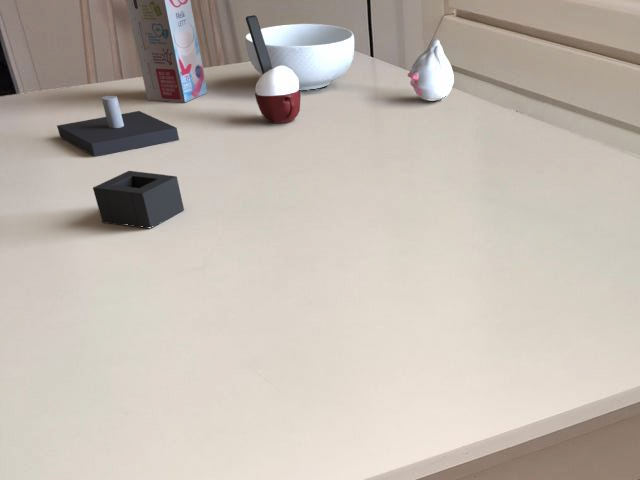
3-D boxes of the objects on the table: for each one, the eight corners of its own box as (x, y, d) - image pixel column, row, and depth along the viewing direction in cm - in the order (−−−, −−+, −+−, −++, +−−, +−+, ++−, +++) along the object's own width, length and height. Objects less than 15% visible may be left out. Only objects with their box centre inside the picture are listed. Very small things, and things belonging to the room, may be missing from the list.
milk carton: (207, 92, 143) (174, -85, 128) (185, 102, 139) (148, -80, 124) (171, 90, 145) (134, -86, 130) (147, 99, 140) (106, -81, 125)
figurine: (402, 99, 139) (398, 37, 134) (443, 94, 142) (441, 33, 136) (419, 108, 135) (416, 45, 130) (461, 103, 137) (460, 41, 132)
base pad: (94, 156, 118) (83, 113, 115) (60, 137, 125) (48, 96, 121) (179, 139, 124) (170, 98, 120) (142, 122, 130) (132, 82, 127)
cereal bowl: (235, 95, 142) (226, 41, 137) (276, 71, 154) (269, 22, 149) (337, 100, 139) (332, 46, 134) (371, 76, 151) (367, 25, 146)
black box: (151, 229, 98) (142, 193, 96) (102, 222, 100) (92, 187, 97) (184, 210, 103) (177, 176, 100) (137, 204, 104) (128, 170, 102)
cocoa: (305, 126, 128) (292, 25, 120) (260, 129, 127) (244, 28, 119) (300, 110, 135) (288, 13, 127) (258, 112, 134) (243, 15, 126)
